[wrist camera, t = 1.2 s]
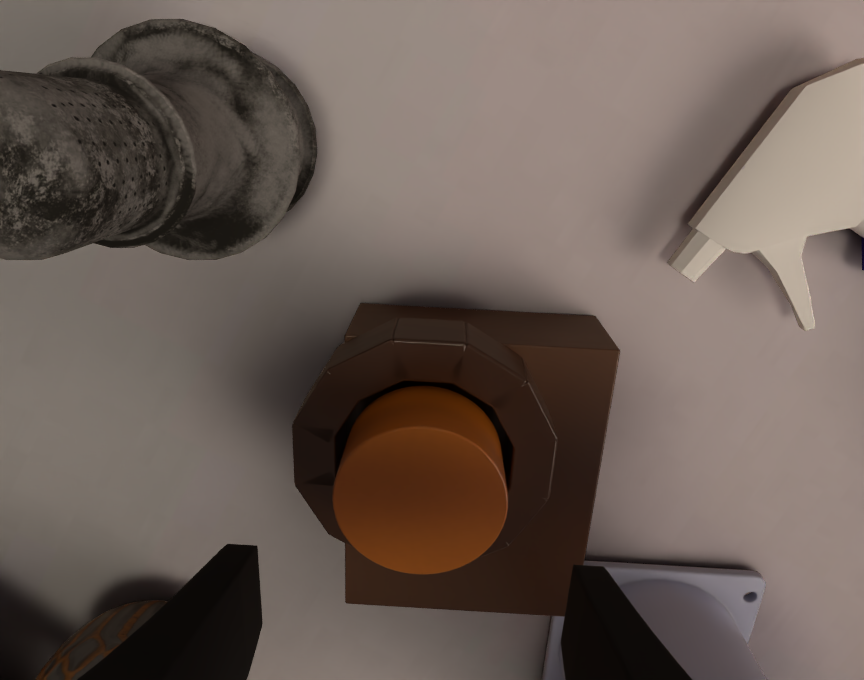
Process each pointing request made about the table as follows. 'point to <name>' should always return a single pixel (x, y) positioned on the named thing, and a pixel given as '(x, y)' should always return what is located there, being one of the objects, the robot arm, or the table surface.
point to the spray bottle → (789, 186)
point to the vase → (97, 640)
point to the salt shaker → (151, 147)
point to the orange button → (421, 481)
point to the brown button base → (517, 430)
